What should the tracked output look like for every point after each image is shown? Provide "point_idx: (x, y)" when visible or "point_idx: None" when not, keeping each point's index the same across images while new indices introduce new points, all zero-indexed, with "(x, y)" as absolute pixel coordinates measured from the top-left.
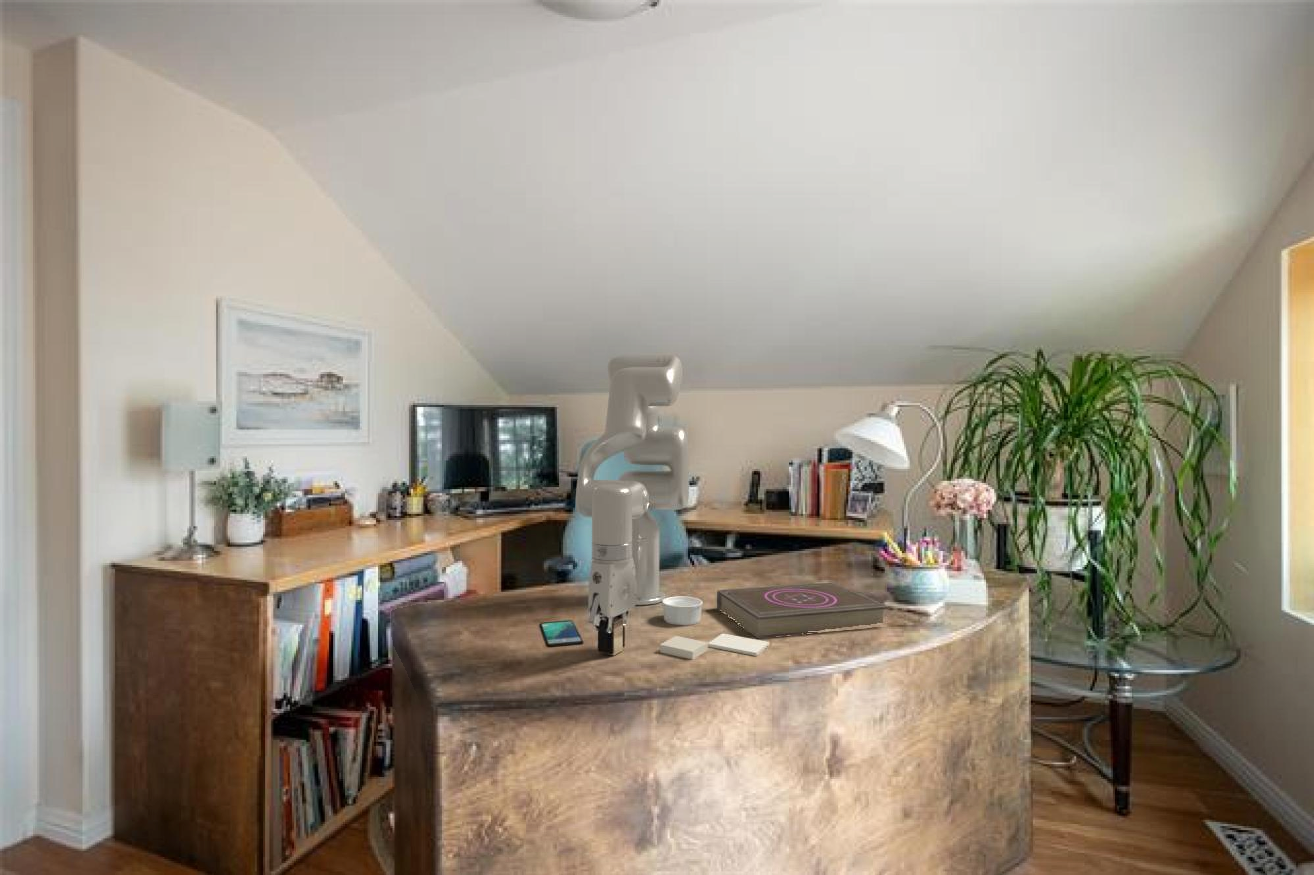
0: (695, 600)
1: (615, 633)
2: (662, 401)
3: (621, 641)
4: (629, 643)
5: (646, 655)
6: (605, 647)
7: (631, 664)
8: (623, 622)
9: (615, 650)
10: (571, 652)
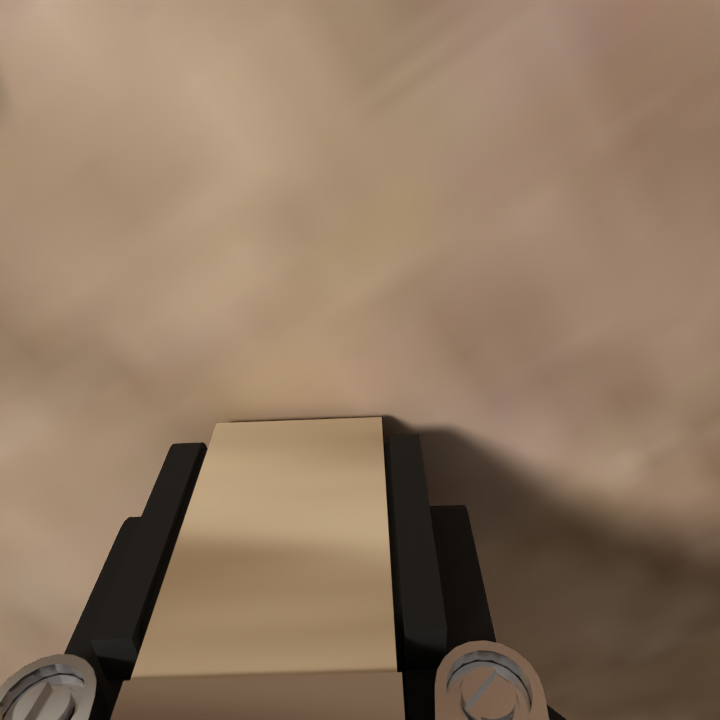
0: None
1: (353, 600)
2: None
3: (218, 491)
4: (3, 476)
5: (123, 142)
6: (465, 521)
7: (485, 127)
8: (80, 713)
9: (347, 443)
10: None
